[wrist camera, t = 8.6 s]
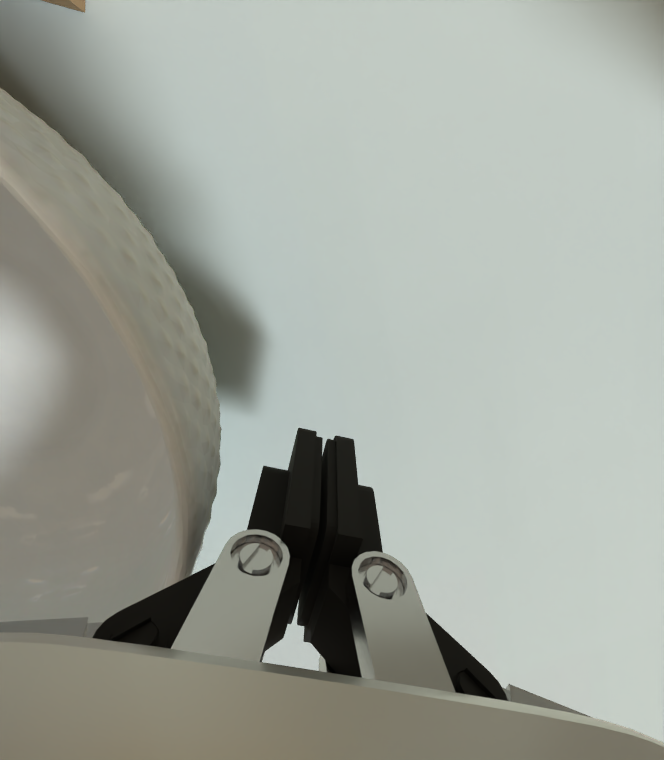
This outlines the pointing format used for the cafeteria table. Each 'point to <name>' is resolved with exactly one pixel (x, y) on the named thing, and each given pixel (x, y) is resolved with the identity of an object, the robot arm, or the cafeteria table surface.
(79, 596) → the cereal bowl
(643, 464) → the cafeteria table surface
